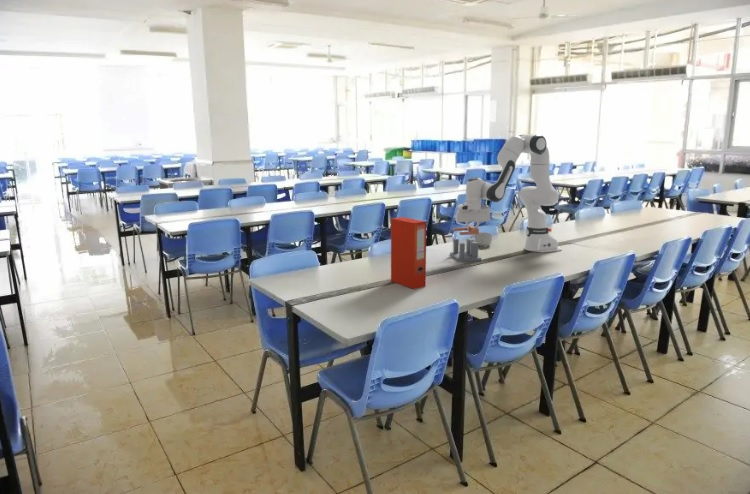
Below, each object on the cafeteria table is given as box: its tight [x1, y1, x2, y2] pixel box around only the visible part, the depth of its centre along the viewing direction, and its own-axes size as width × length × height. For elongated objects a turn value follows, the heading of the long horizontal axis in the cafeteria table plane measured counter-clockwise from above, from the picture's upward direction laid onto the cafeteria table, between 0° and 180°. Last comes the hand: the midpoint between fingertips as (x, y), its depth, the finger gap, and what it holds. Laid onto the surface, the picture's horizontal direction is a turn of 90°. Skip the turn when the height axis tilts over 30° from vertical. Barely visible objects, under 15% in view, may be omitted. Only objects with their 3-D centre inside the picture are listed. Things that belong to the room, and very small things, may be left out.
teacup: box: [469, 231, 493, 247], centre depth 339 cm, size 14×11×8 cm
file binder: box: [390, 216, 427, 290], centre depth 255 cm, size 8×17×32 cm, turn 36°
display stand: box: [449, 237, 482, 262], centre depth 308 cm, size 14×17×11 cm
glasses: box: [453, 224, 480, 236], centre depth 306 cm, size 11×14×3 cm
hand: (472, 229), depth 306 cm, fingers closed on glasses, 3 cm apart
